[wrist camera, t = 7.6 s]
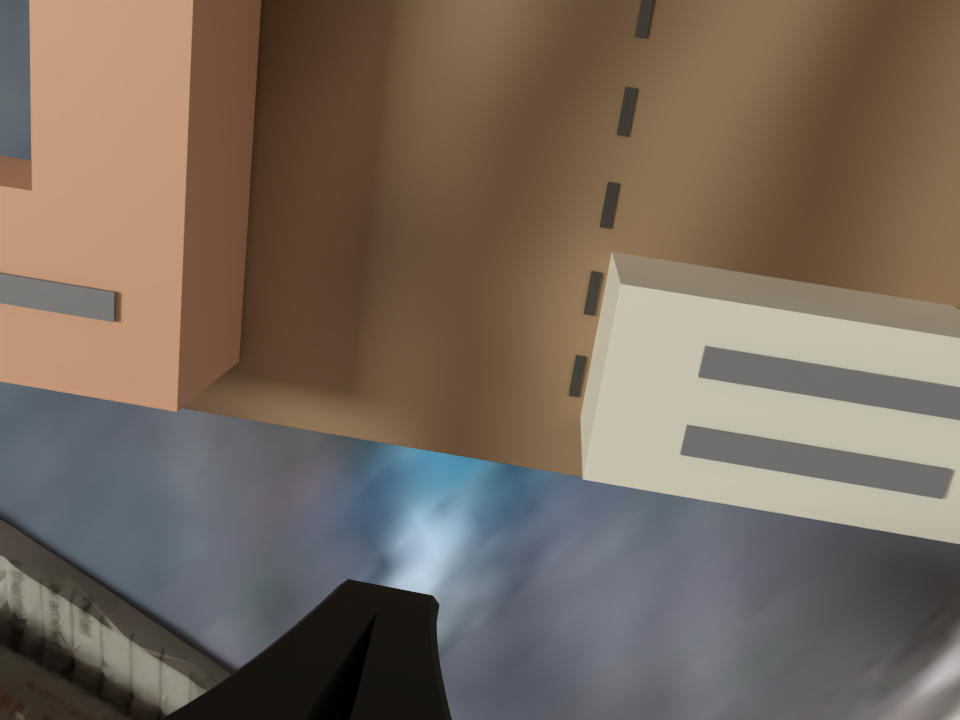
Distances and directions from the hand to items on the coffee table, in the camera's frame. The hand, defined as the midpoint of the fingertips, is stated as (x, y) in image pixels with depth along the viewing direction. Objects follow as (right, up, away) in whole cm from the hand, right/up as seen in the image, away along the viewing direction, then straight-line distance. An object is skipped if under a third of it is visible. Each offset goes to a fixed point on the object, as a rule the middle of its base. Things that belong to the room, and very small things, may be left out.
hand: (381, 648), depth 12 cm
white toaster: (+8, +4, +8) cm, 12 cm away
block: (-7, +9, +7) cm, 14 cm away
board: (+3, +8, +8) cm, 11 cm away
